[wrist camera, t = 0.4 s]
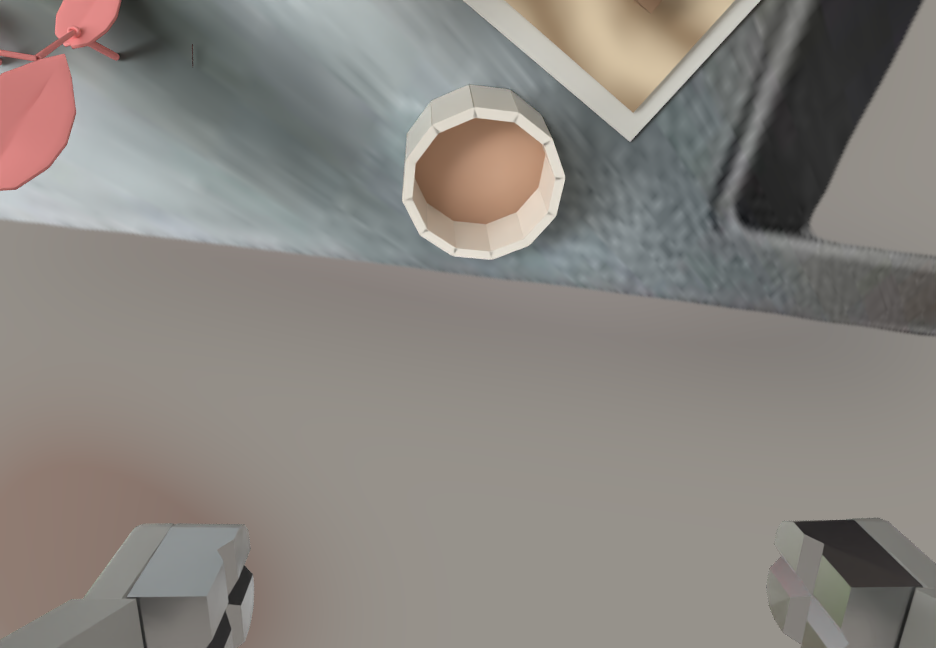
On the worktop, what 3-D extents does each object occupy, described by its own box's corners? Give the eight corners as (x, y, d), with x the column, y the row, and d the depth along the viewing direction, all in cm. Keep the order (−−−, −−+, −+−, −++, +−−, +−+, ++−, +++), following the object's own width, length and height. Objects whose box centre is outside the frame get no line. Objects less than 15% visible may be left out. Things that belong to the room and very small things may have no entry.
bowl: (465, 53, 53) (470, 73, 48) (580, 146, 58) (595, 173, 53) (376, 175, 58) (372, 204, 53) (488, 250, 63) (494, 283, 59)
